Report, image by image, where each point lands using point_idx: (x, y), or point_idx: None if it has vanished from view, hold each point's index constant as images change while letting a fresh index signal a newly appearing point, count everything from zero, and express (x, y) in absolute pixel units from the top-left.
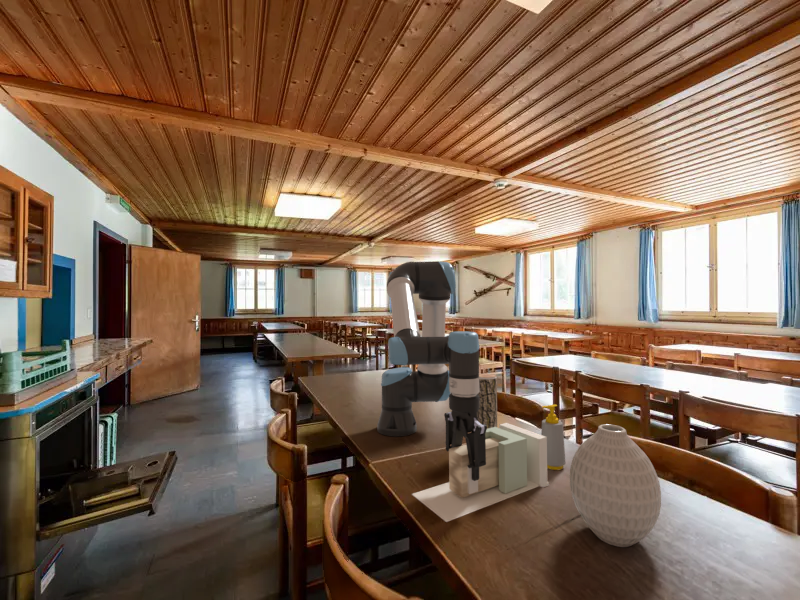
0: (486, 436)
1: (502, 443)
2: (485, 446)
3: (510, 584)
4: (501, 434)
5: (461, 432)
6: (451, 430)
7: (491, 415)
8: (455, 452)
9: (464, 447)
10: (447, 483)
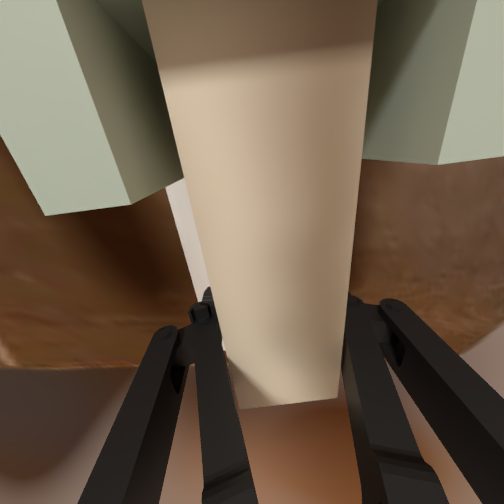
0: (113, 76)
1: (492, 147)
2: (492, 388)
3: (492, 318)
4: None
5: (252, 480)
6: (150, 487)
7: None
8: (289, 401)
9: (258, 353)
10: (193, 269)
